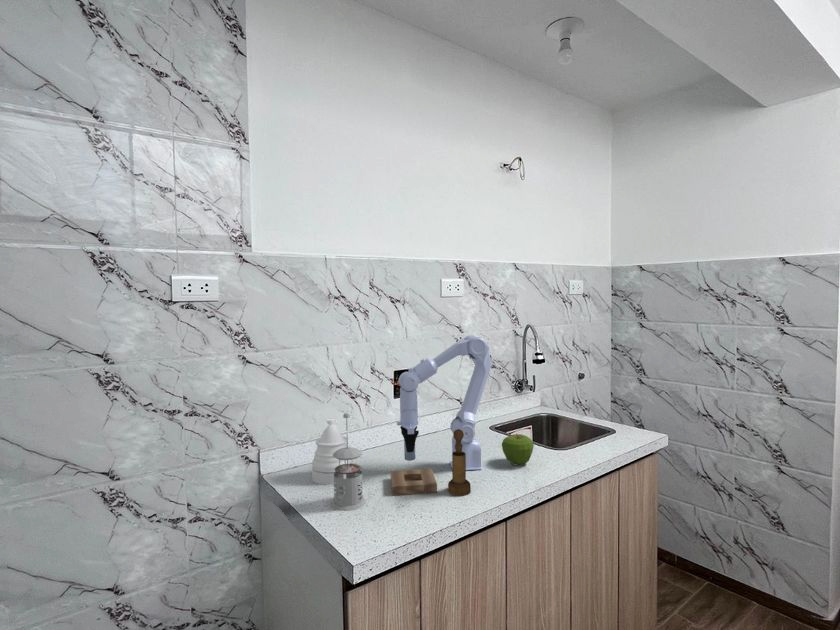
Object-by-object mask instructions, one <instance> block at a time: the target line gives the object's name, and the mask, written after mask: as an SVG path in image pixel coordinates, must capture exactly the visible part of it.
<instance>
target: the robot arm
mask: <svg viewBox="0 0 840 630" xmlns="http://www.w3.org/2000/svg"><path fill="white" fill-rule="evenodd" d="M458 356H469V357H470V359H471V361H472V362H473V365H474V369H473V372H472V374H471V377H470V381H469V384H468V386H467V389H466V392H465V395H464V397H463V401H462V405H461V408H460V409H459V411H458V412H457V413H456V416H455V417H454V419H453V420H452V421H451V422H450V430H451V432H452V434H453V433H454V431H455V430H457V429H460V430H462V431H463V433H464V436H463V439H462V440H461V445H463V447H462V452H464V453H465V454H466V471H475V470H476V471H477V470H482V469H483V467H482V449H481V447H482V446H481V443H480V440H479V439H475V435H476V430H475V427H476V423H477V422H476V414H477V410H478V408H479V405H480V402H481V399H482V396H483V393H484V389H485V387H486V384H487V380H488V378H489V375H490V371H491V369H492V363H493V362H492V358H491V354H490V346H489V344H488V343H487V341H486V340H485V339H484V338H482V337H481V336H474V335H467V336H465V337H464V338H463V339H462V338H461V339H460V340H458V341H456V342H455V343H454V344H452V345H451V346H449V347H447V348H446V349H445V350H444V351H442V352H441V353H439V354H438V355H436V357H434V358H432V359H431V358H426V359H424V358H422V359H420V362H419V363H418V364H416V365H415V366H414V367H409V368H408V369H407V370H408V371H404V372H402V373H401V374H400V375H399V377H398V380H397V381H398V383H397V384H398V385H399V387H400V388H399V394H400V395H399V412H400V413H399V415H400V421H397V422H396V425H397V426H399V428H400V433H401V435H402V438H403V441H404V440H405V445H406V450H407V452H414V447H415V448H416V441H417V437H418V436H419V433H420V431H419V430H417V429H418V425H419V420H418V417H419V416H418V394H417V389H418V387H419V384H422V383H424V382H426V381H427V380H428V379H430V378H431V377H433V376H434V375H436V374H437V372H438V369H439V367H441V366H443V365H445V364H446V363H448V362H450V361H451V360H453V359H455V358H456V357H458ZM455 445H456V440H455V438H454V436H452V437H451V454H452V453H453V452H455V451H456V449H455ZM449 465H450V466H451V468H452V460H451V461H449Z"/></svg>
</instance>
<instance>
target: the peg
mask: <svg viewBox="0 0 840 630" xmlns="http://www.w3.org/2000/svg"><path fill="white" fill-rule="evenodd" d="M403 445H404V446H403V448H404V454H403V455H404V461H409V462H410V461H415V460H416V446H415V447H414V452H407V450H406V445H405V440H404V439H403Z"/></svg>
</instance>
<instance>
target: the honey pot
mask: <svg viewBox="0 0 840 630" xmlns="http://www.w3.org/2000/svg"><path fill="white" fill-rule="evenodd" d="M335 420H336V419H335V418H327V419H326V424H328V426H327V427H326V428H324V431H323V432H322V434H321V435H320V437H318V438H317V439H316V440H315V445H316V446H317V447H316V449H315V451H314V455H313V459H312V463H311V465H312V466H311V468H312V469H311V472H312V473H311V475H312V481H313V482H314V483H316V484H318V485H324V486H325V485H326V486H327V485H334V484H336V483H335V482H334V473H335V472H336V471H335V468H336V467H337V466H339V459H336V458H335V457H333V453H334V452H336V451H337V450H339V449H341V448H345V447H347V436H344V435H343V433H342V431H341V429H340V428H338V426H337V425H335ZM353 460H354V459H352V460H348V464H349V463H352V464H354V462H353ZM342 464H345V460H340V465H342ZM346 464H347V460H346ZM343 476H344V479H346V474H343Z"/></svg>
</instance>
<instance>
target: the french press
mask: <svg viewBox="0 0 840 630" xmlns="http://www.w3.org/2000/svg"><path fill="white" fill-rule="evenodd" d="M350 417H351V414H350V413H349V412H346V413H344V414H343V416H342V418H344V419H345V420H346V421H345V422H346V429H345V430H348V418H350ZM348 436H349V435H348V434H346V438H347V442H346V444H347V447H345V448H341V449H339V450H337V451H336V452H334V453H333V457H335V458H336V459H339V466H337V467H336V468H335V471H336V472H335V473H334V482H335V483H336V484H333V496H334V497H333V500H332V501H331V503H330V507H331V508H332V509H333V510H336V511H340V512H348V511H354V510H359V509H361V508H362V507H364V506H365V505H366V504H367V500H366V498H365V497H364V496H363V471H362V470H361V469H362V467H361V465H360V464H357V463H353V464H352V463H349V464H348V460H357V459H358V458H360V457H361V456H362V455H363V451H362V450H360V449H358V448H357V447H352V446H349V445H348V444H349V443H348V442H349V441H348V440H349V439H348V438H349V437H348ZM340 460H345V464H342V465H340ZM346 460H347V464H346ZM343 474H346V479H344V476H343ZM356 474H360V475H356Z"/></svg>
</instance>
